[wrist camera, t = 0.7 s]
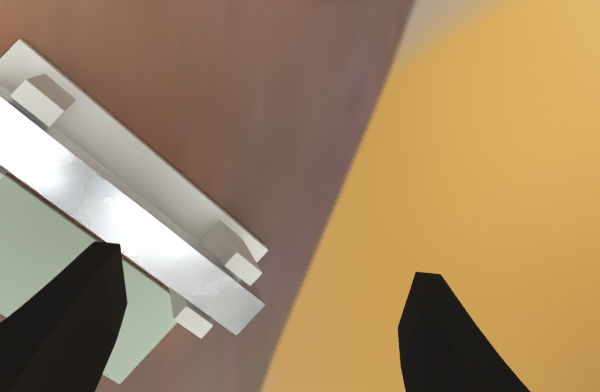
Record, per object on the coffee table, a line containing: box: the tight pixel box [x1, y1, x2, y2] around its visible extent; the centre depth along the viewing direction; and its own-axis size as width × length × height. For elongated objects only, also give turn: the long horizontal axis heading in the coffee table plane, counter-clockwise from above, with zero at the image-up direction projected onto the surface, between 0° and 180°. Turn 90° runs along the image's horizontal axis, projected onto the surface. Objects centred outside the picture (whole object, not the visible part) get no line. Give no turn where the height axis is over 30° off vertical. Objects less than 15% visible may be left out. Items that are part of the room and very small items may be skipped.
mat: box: [0, 174, 177, 384], centre depth 31 cm, size 7×17×1 cm, turn 44°
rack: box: [0, 39, 268, 338], centre depth 28 cm, size 6×19×7 cm, turn 43°
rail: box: [0, 85, 265, 335], centre depth 26 cm, size 2×18×2 cm, turn 44°
